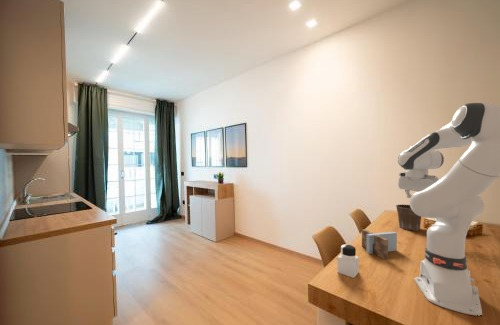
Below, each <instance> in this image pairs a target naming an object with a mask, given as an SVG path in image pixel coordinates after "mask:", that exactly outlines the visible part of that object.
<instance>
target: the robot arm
mask: <svg viewBox="0 0 500 325" xmlns="http://www.w3.org/2000/svg"><path fill="white" fill-rule="evenodd" d="M469 144H470V145H469ZM468 145H469V147H468V148H467V149H466V150H465V151H464V153H463V154H462V155H461V156H460V157H459V158H458V159H457V161H456V162H455V163H454V164H453V166H452V167H451V168H450V169H449V171H448V172H446V173H445V174H444V175H443V176H442V177H440V178H439V177H438V176H436V175H431V174H430V175H429V170H436V169H439V168H440V167H442V166H443V164H444V161H445V158H444V155H443V153H442V152H440V151H439V150H440V149H441V150H442V149H449V148H461V147H465V146H468ZM397 158H398V159H397V163H398V165H399V166H400V167H401V168H402V169H404V170H405V171H402V172H399V173H398V177H399V178H398V183H397V184H398V189H399V190H404V192H405V194H406V198H407V199H409V205H410V207H411V209H412V211H413V212H414V213H415V214H416V215H418V216H421V218H427V219H433V220H435V219H436V221H435V222H434V223H433V224H432V225H431V226H429V227H428V229H427V230H426V247H425V250H424V256H425V257H424V259H423V260H421V261H420V263H419V266H420V267H419V276H416V277H414V282H415V283H416V284H417V286H418V288H419V289H420V291H421V292H422V294H423V295H424V297H425V298H426V299H427V301H429V302H430V303H432V304H435V305H436V306H439V307H442V308H445V309H447V310H451V311H455V312H458V313H462V314H465V315H472V316H477V315H478V316H480V315H482V316H483V309H482V304H481V300H480V296H479V287H478V286H475V285H472V283H475V278H472V277H471V271H470V270H469V269H468V261H467V260H468V259H467V257H466V256H465V251H466V249H465V248H466V238H467V234H468V231H469V229H470V227H471V225H472V224H473V222H474V220H475V219H476V218H477V217H478V216H479V215H481V214H482V213H483V212H484V209H485V202H484V200H483V198H482V197H481V196H480V195H481V194H483V193H484V192H486V191H487V189H488V188H490V187H491V186H492V185H493V184H494V183H495V182H496V181H497V180H498V179H499V178H500V104H492V103H489V102H488V103H487V102H468V103H465V104H463V105H462V106H461V107H459V108H458V109H457V110H456V111H455V112H454V114H453V117H452V119H451V121H450V122H448V123H447V124H445V125H444V126H442V127H441V128H439V129H438V130H436V131H433V132H431V133H430V134H427V135H426V136H423V138H422V139H421V140H419V141H418V142H416V143H415V144H414V145H410V146H409V148H408V149H405V150H403V151H402V152H400V154H399V155H398V157H397ZM411 191H413V192H414V193H413V194H411ZM478 316H477V317H478ZM480 317H481V316H480Z"/></svg>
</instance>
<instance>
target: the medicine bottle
mask: <svg viewBox="0 0 500 325" xmlns="http://www.w3.org/2000/svg"><path fill="white" fill-rule="evenodd" d="M359 258H360V257H359V256H358V255H356V247H355V246H354V245H351V244H342V245H341V246H340V255H338V256H337V273H338V274H341V275H344V276H346V277H349V278H353V279H354V278H355V277H356V276H357V275H358V274H359V272H360V263H359V262H360V261H359V260H360V259H359Z"/></svg>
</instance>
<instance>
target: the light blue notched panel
mask: <svg viewBox="0 0 500 325" xmlns="http://www.w3.org/2000/svg"><path fill="white" fill-rule="evenodd" d="M375 235H379V236H381V237H384V238H386V239H388V253H389V252H397V251H398V243H397V242H398V238H397V237H398V233H397V232H395V231H388V232H387V231H385V232H376V233H374V232H373V234H367V241H366V248H365V249H366V253H367V254H374V253H373V244H375Z"/></svg>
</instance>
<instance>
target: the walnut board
mask: <svg viewBox="0 0 500 325" xmlns="http://www.w3.org/2000/svg"><path fill="white" fill-rule="evenodd" d="M367 234H374V232H372V231H370V230H367V229H366V228H365V229H361V247H362V248H364V249H366V241H367ZM372 254H375V255H377V256H378V257H380V258H382V259H384V260H388V258H389V252H388V239H386V238H384V237H381V236H379V235H375V244H373V253H372Z"/></svg>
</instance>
